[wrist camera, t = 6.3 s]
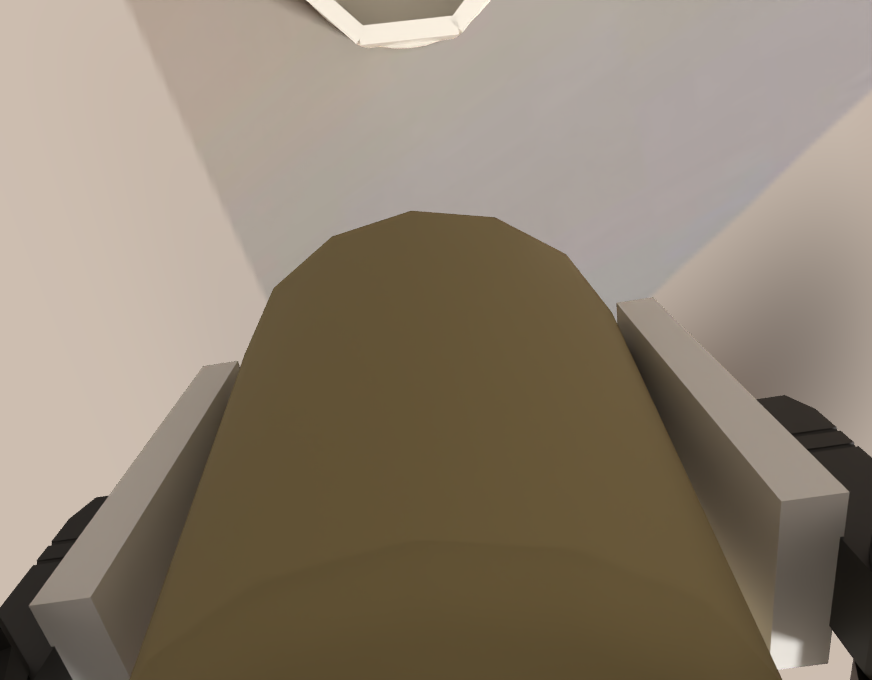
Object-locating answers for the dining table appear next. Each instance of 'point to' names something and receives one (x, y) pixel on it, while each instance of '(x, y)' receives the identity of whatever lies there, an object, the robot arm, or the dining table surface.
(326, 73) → the dining table surface
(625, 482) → the squeeze bottle
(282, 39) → the dining table surface
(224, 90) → the dining table surface
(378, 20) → the crock
